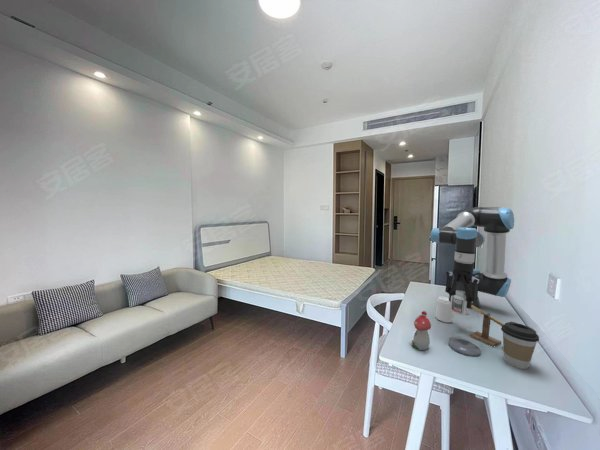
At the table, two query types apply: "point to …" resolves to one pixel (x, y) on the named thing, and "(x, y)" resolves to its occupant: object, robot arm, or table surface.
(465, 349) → the flat grey disc
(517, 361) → the coffee cup
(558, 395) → the table surface
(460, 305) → the pill bottle
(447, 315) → the beverage can
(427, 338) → the decorative ornament
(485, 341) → the balance
